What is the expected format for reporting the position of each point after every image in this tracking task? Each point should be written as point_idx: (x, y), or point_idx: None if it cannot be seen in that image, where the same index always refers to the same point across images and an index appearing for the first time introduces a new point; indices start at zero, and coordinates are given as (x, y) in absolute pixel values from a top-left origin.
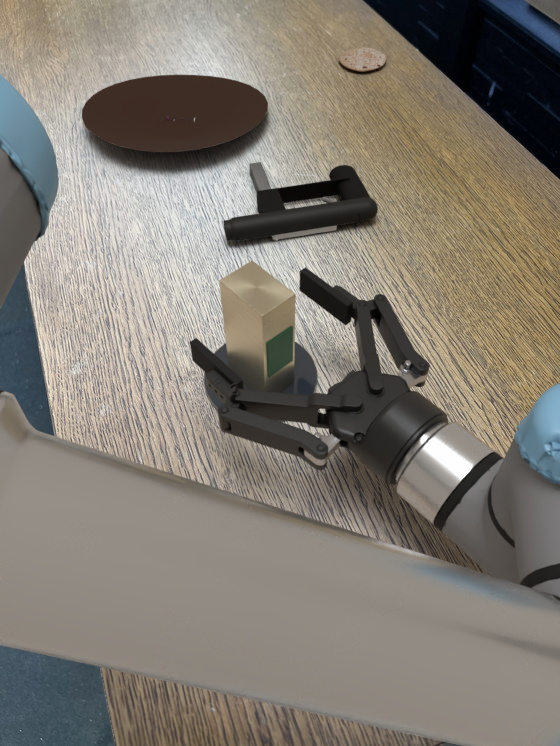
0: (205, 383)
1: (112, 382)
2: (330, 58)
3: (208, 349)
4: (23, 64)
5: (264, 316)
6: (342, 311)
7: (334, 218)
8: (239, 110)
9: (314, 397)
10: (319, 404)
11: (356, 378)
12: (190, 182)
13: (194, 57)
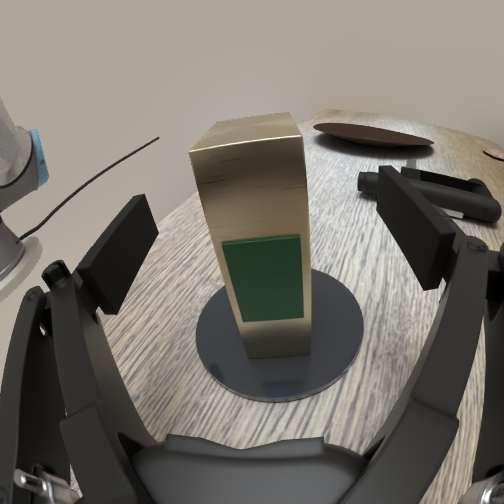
0: (215, 294)
1: (165, 254)
2: (477, 148)
3: (131, 209)
4: (314, 118)
5: (195, 156)
6: (427, 251)
7: (462, 203)
8: (415, 143)
9: (81, 414)
10: (64, 441)
11: (294, 481)
12: (360, 161)
13: (401, 128)
